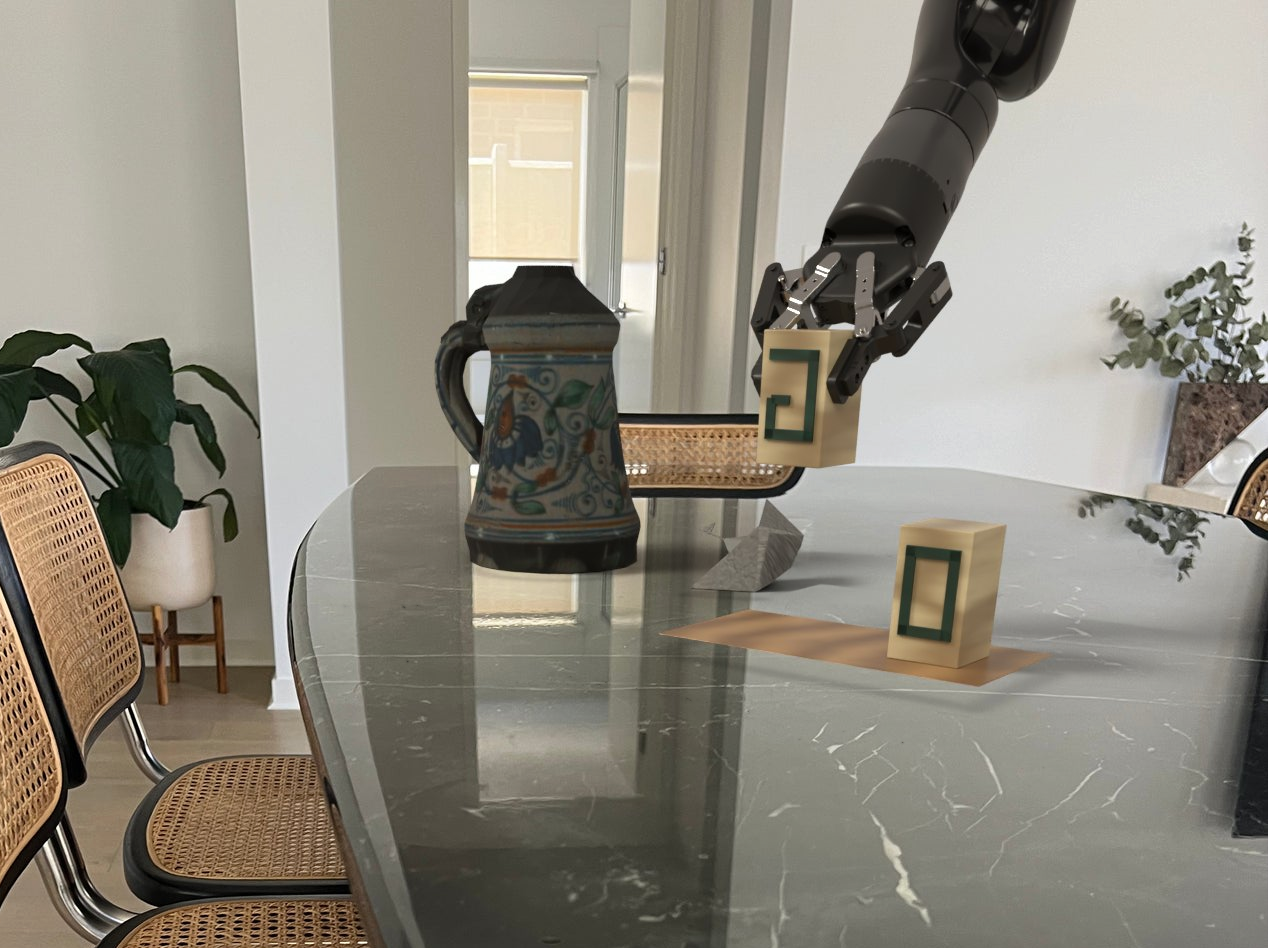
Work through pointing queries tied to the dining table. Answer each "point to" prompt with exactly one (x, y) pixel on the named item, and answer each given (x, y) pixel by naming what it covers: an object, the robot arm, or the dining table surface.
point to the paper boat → (755, 554)
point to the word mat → (844, 646)
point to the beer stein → (541, 426)
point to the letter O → (945, 591)
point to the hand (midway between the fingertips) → (797, 392)
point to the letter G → (804, 401)
